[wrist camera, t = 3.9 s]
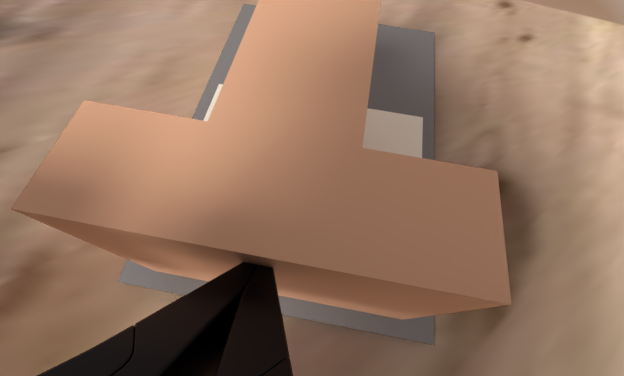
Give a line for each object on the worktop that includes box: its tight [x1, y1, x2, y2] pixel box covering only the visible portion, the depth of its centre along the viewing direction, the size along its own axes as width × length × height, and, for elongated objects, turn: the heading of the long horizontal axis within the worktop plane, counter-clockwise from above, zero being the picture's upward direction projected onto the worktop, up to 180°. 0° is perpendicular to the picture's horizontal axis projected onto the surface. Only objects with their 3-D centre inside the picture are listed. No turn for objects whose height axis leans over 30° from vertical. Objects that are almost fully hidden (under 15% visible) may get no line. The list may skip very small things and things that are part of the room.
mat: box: [118, 4, 434, 345], centre depth 19 cm, size 22×15×1 cm
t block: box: [11, 0, 512, 320], centre depth 13 cm, size 12×12×8 cm
